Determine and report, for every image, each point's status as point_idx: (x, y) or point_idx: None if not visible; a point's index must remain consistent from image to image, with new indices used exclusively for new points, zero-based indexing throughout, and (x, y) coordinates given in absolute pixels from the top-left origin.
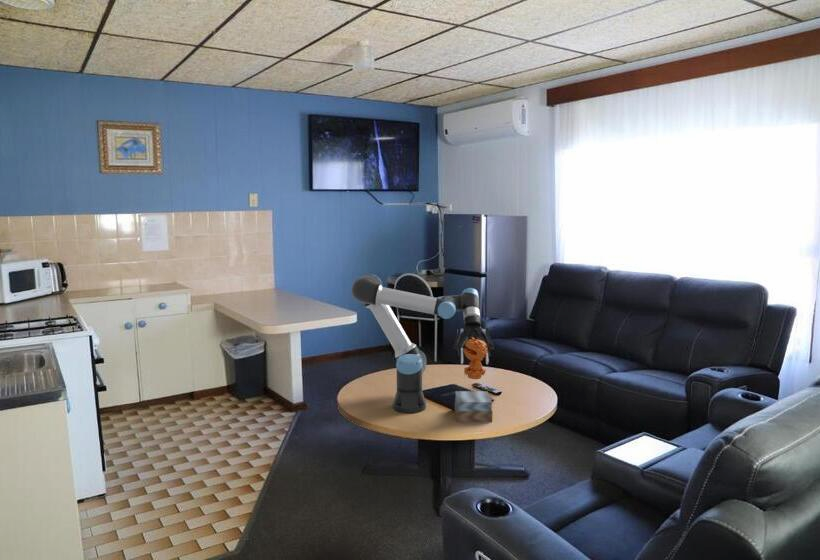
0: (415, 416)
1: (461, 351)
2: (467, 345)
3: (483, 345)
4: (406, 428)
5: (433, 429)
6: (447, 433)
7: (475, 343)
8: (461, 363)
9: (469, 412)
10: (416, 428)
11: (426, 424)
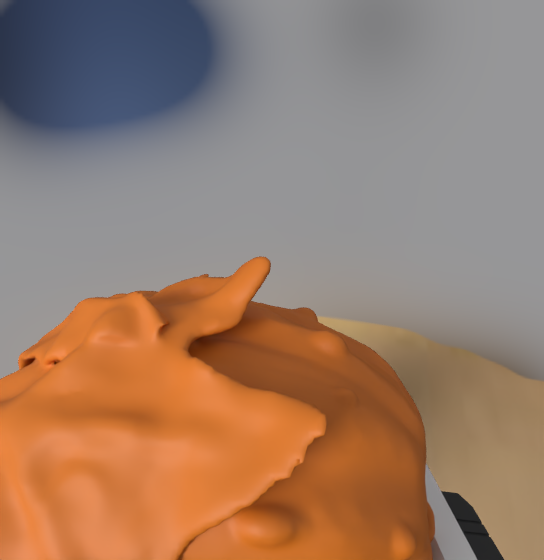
0: (521, 553)
1: (440, 502)
2: (387, 366)
3: (58, 332)
4: (532, 396)
5: (422, 370)
6: (367, 324)
7: (228, 333)
8: None
9: None
10: (492, 390)
11: (455, 431)
